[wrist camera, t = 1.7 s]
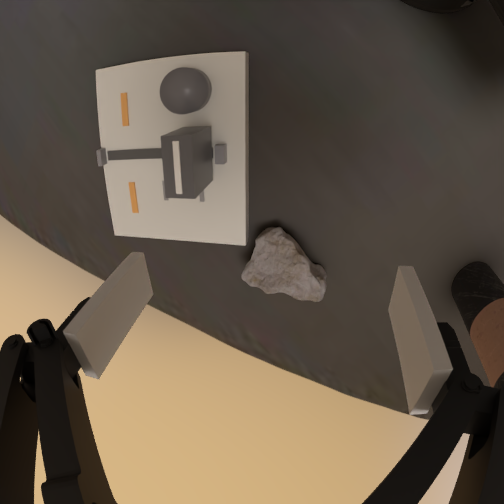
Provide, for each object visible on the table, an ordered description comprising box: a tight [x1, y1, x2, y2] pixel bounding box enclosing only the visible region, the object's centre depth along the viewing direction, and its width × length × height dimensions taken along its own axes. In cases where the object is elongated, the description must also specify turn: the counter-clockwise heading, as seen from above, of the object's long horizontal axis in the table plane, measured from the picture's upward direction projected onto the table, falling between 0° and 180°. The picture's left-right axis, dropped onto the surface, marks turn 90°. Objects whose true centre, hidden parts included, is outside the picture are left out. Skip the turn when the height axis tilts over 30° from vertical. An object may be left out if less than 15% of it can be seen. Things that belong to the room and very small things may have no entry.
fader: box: [161, 126, 213, 199], centre depth 30 cm, size 6×3×6 cm, turn 0°
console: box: [96, 51, 249, 246], centre depth 34 cm, size 22×18×4 cm
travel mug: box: [452, 262, 504, 389], centre depth 29 cm, size 8×8×20 cm
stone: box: [241, 227, 327, 302], centre depth 38 cm, size 8×10×6 cm
